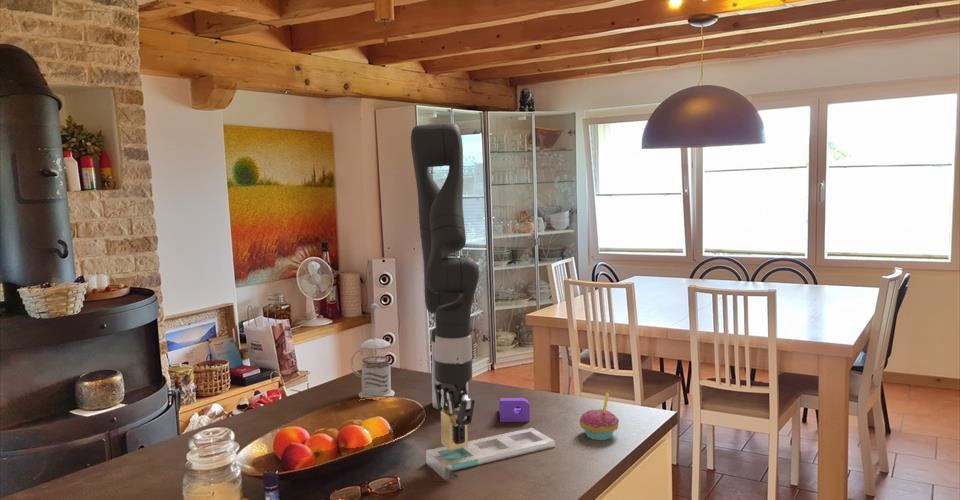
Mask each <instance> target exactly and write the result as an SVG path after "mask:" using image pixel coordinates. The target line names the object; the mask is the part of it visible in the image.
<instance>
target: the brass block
mask: <svg viewBox="0 0 960 500" xmlns="http://www.w3.org/2000/svg"><path fill="white" fill-rule="evenodd" d="M454 409H455V410H459V409H460V408H454ZM458 416H459V414H458V415H457V418H458ZM466 418H467V416H466ZM440 439H441V440H440V441H441V443H440V444H441V445H442V446H443V447H444V446H445V447H446V448H448V449H449V450H453V449H458V448H463V447H467V446H468V441H469V440H468V425H465V442H464V443H461V444H455V443H454V423H453V415H451V414H450V409H447V410H441V413H440Z"/></svg>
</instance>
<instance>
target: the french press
mask: <svg viewBox="0 0 960 500" xmlns="http://www.w3.org/2000/svg"><path fill="white" fill-rule="evenodd" d="M370 308H371V309H373V314H374V317H373V318H374V322H376V309H378V308H379V305H378V304H377V303H371V305H370ZM376 333H377V332H376V328H374V338H369V339H368V340H366V341H364V342H362V343H361V344H360V349H359V348H358V350H356V351H355V352H354V353H353V354H352V356H351V359H350V367H351V368H350V369H351V370H352V372H353V374H354V375H356V376H357V377H359V378H360V380H361V381H360V383H361V391H360V392H359V393H358V397H359V398H360V399H362V397H374V396H392V397H394V395H395V393H396V392H395V391H394V390H393V389H392V383H391V381H392V379H391V376H392V375H391V374H392V373H391V363H390V362H389V361H390V358H389V357H388V356H385V355H377V350H385V349H387V348H390V347H391V343H390V342H389V341H387V340H385V339H382V338H377V334H376ZM363 349H364V350H368V351H370V350H373V351H374V355H372V356H371V355H370V356H366V357H364V358H363V359H362V365H361V373H359V372H358V371H357V370H356V369H355V367H354V357H355V355H356V354H357V353H359V352H360V356H363V354H364V353H363V352H364V351H363ZM372 366H373V367H372ZM378 366H380V367H378ZM370 367H371V368H370ZM382 377H383V378H382Z"/></svg>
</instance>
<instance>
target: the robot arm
mask: <svg viewBox="0 0 960 500" xmlns="http://www.w3.org/2000/svg"><path fill="white" fill-rule="evenodd" d="M461 133H462V132H461V129H460V127H459V126H458V124H457V123H454V122H453V123H450V122H446V123H432V124H429V123H428V124H420V125H415V126H413V128H412V130H411V134H410V147H411V148H410V150H411V156H412V162H413V168H414V176H415V181H416V182H415V184H416V188H417V189H416V191H417V202H418V203H417V205H418V219H419V220H418V221H419V224H418V225H419V233H420V239H421V240H420V241H421V249H422V258H423V259H422V260H423V277H424V281H423V282H424V302H425V307H426V310H427V311H428V313H430V314H433V315H434V316H435V317H434V320H435V322H434V323H435V325H434V326H435V327H434V328H433V329H432V330H431V333H430V334H431V335H430V336H431V337H430V338H431V387H432V388H431V389H432V391H431V394H432V398H431V399H432V400H431V401H432V407H433V408H434V409H435V410H437V411H438V413H439V414H441V410H447V409H450V414H451V415H453V423H454V443H455V444H461V443H464V442H465V425H467V426H469V425H471V424H472V419H473V414H474V407H475V401H476V400H475V399H474V398H473V397H472V398H470V397H469V382H471V380H472V379H473V343H472V337H471V336H472V335H471V328H472V327H471V313H472V308H473V301H474V297H475V293H476V290H477V287H478V283H479V279H480V269H479V266H478V263H477V262H476V261H475V260H474V259H473V258H472V257H466V256H465V257H449V256H450V255H451V254H454V253H456V252H459V251H461V250H463V249H464V248H465V246H466V243H467V242H466V241H467V239H466V238H467V236H466V227H465V219H464V218H465V217H464V208H463V204H464V203H463V197H464V193H463V192H464V150H463V149H464V147H463V136H462V134H461ZM437 167H448V173H447V176H446V178H445V181H444V183H443V185H442V186H441V188H440V187H439V186H438V184H437V183H436V181H435V180H434V178H433V176H432V173H431V171H430V169H429V168H437ZM454 408H460V409H459V410H455V409H454ZM458 414H459V416H458V418H457V415H458ZM466 416H467V418H466Z"/></svg>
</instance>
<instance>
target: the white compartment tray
mask: <svg viewBox="0 0 960 500" xmlns="http://www.w3.org/2000/svg"><path fill="white" fill-rule="evenodd" d="M551 448H556V441H555V440H554V439H553V438H550V437H549V436H547V435H546V434H544V433H542V432H540V431H538V430H537V429H535V428H533V427H529V428H525V429H519V430H515V431H510V432H505V433H502V434H497V435H492V436H487V437H486V436H485V437H481V438H479V439H473V440H468V446H467V447H463V448H458V449H453V450H449V449H448V448H446V447H445V446H444V445H443V446H441V447H436V448H432V449H431V448H429V449H426V450H425V463H426V465H428V467H430V468H431V469H432V470H433V471H434V472H436V473H437V474H438V476H440V477H441V478H442V479H443V480H450V479H454V478H457V477H458V478H459V476H458V475H457V474H456V473H455V472H454V471H457V470H462V469H467V468H471V467H476V466H479V465H484V464H487V463H491V462H495V461H499V460H504V459H509V458H513V457H517V456H520V455H525V454H530V453H533V452H538V451H539V452H540V451H542V450H547V449H551Z"/></svg>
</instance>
